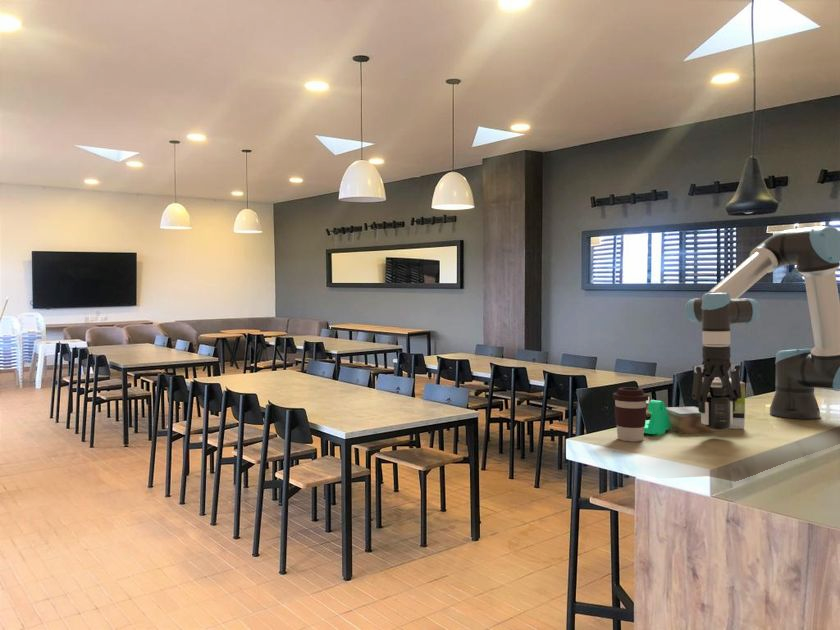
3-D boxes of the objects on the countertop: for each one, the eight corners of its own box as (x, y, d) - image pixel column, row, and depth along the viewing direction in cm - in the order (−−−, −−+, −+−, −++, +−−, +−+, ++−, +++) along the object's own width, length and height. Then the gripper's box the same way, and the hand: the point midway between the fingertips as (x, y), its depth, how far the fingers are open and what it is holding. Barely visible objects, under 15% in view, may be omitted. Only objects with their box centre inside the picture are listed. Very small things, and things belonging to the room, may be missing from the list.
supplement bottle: (734, 426, 189) (734, 386, 189) (724, 430, 185) (724, 388, 184) (711, 423, 195) (711, 384, 194) (700, 427, 190) (700, 386, 190)
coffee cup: (608, 440, 188) (608, 389, 188) (617, 434, 197) (617, 385, 196) (644, 444, 183) (643, 392, 183) (651, 438, 192) (651, 387, 191)
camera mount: (647, 428, 207) (647, 396, 206) (670, 431, 201) (670, 398, 201) (628, 434, 198) (628, 400, 198) (652, 437, 193) (652, 403, 193)
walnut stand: (694, 424, 210) (694, 406, 210) (713, 431, 199) (713, 412, 199) (662, 426, 209) (662, 407, 208) (680, 433, 198) (680, 413, 198)
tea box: (745, 429, 202) (746, 382, 202) (711, 428, 204) (711, 382, 204) (732, 420, 217) (732, 376, 217) (700, 419, 219) (700, 376, 219)
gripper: (739, 343, 194) (740, 419, 195) (677, 345, 192) (678, 422, 193) (755, 345, 187) (756, 424, 188) (691, 347, 184) (692, 427, 185)
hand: (716, 423), depth 190 cm, fingers closed on supplement bottle, 7 cm apart
